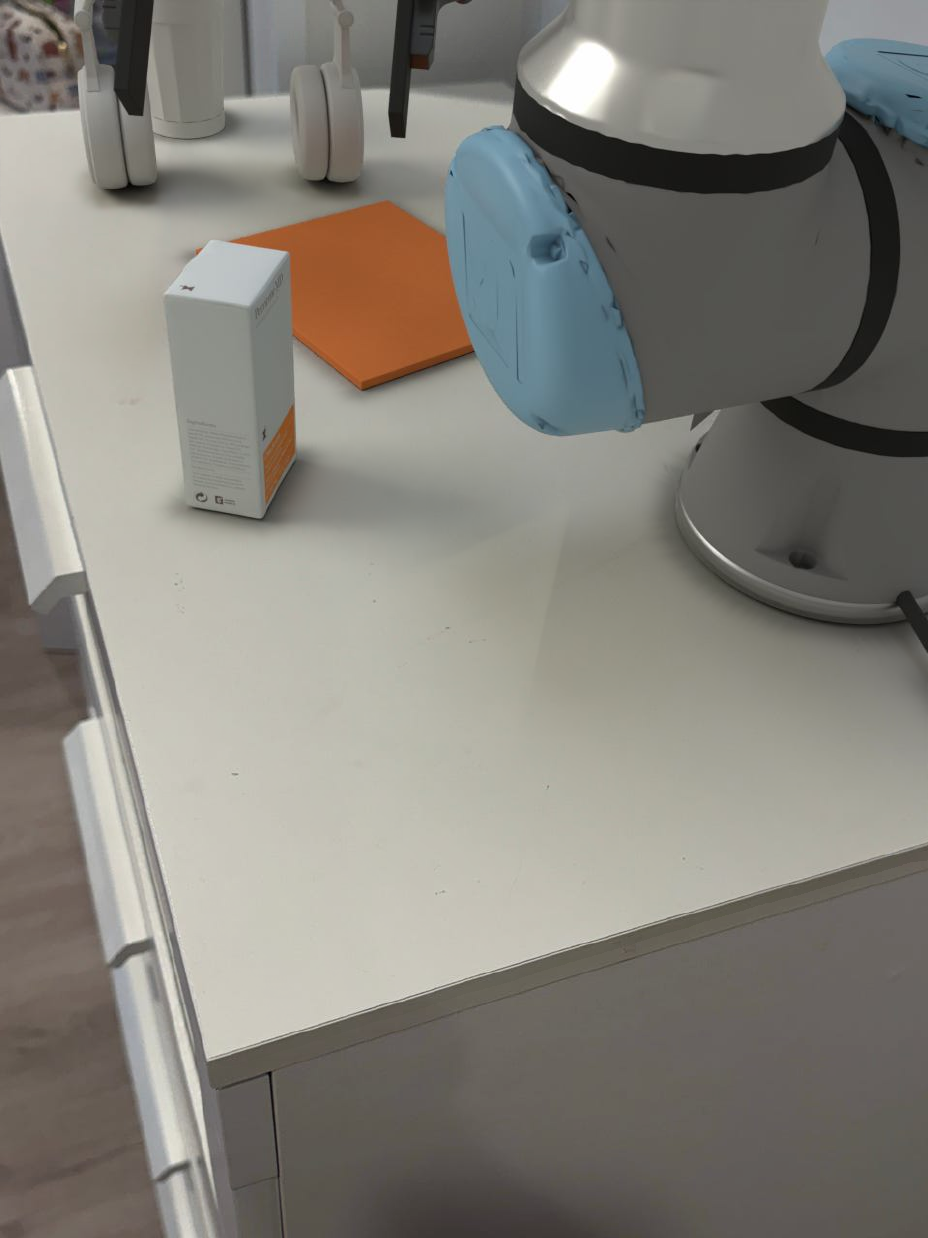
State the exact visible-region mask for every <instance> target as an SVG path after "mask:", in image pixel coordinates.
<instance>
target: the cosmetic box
mask: <svg viewBox="0 0 928 1238" xmlns="http://www.w3.org/2000/svg"><path fill="white" fill-rule="evenodd" d="M202 248H203V249H202V250H201V251H200V253H199V254H198V255H197V256H194V257H193V258H191V259H190V260H189V262H187V263H186V265H184V267H183V269H182V271H181V272H180V274H179V275H178V276H177V278H176V279H175V280H174V281H173V282H172V284H171V285H170V286H169V287H168V288H167V290H166V291H165V292H164V293H163V295H162V296H163V297H162V298H163V307H164V316H165V317H164V318H165V326H166V328H165V329H166V336H167V344H168V353H169V360H170V370H171V378H172V379H171V381H172V387H173V394H174V395H173V396H174V405H175V413H176V423H177V430H178V431H177V432H178V440H179V451H180V458H181V460H180V461H181V467H182V468H181V469H182V477H183V485H184V494H185V503H186V505H187V506H189V507H193V508H198V509H201V510H208V511H215V512H220V513H225V514H226V513H227V514H230V515H231V514H232V515H236V516H241V517H248V518H253V519H259V520H260V519H263V518H264V516H265V515H266V512H267V510H268V507H269V506H270V505H271V502H272V501H273V499H274V498H275V495H276V493H277V491H278V490H279V487H280V485H281V484H282V482H283V480H285V477H286V475H287V474H288V472H289V470H290V469H291V467H292V465H293V464H294V462H295V460H296V459H297V455H298V452H297V425H296V396H295V393H296V392H295V366H294V363H295V362H294V361H295V360H294V340H293V339H294V338H293V337H294V335H293V334H292V307H291V278H290V254H289V252H287V251H280V250H274V249H268V248H261V247H254V246H248V245H242V244H236V243H230V242H227V241H224V240H219V239H210V240H209V241H208V242H207V243H206V245H204V247H202Z"/></svg>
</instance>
